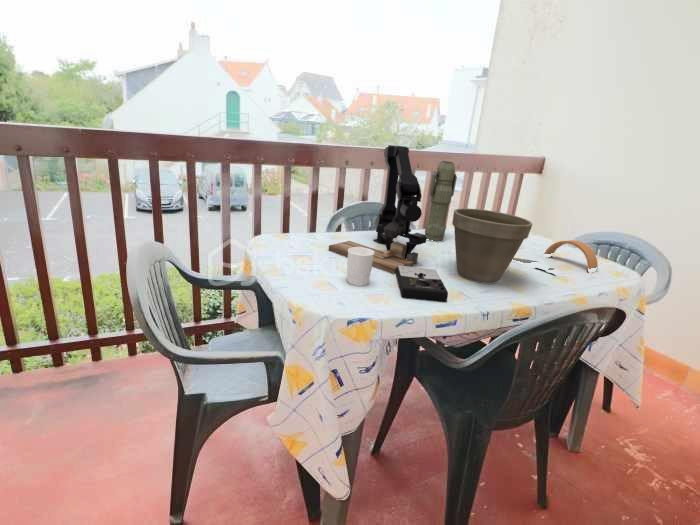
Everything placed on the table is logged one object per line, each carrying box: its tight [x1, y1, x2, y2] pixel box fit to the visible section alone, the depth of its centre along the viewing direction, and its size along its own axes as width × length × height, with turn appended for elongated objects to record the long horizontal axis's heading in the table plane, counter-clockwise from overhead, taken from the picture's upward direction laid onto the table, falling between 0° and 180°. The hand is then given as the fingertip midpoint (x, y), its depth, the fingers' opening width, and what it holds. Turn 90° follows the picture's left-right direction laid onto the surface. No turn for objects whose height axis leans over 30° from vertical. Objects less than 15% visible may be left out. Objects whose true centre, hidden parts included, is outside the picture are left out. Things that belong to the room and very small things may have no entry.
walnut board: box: [327, 240, 419, 275], centre depth 138 cm, size 17×30×4 cm, turn 50°
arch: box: [543, 239, 598, 269], centre depth 154 cm, size 6×20×10 cm, turn 29°
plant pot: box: [451, 208, 533, 284], centre depth 128 cm, size 25×25×22 cm
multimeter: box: [395, 266, 449, 303], centre depth 115 cm, size 13×19×5 cm
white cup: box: [346, 247, 374, 287], centre depth 113 cm, size 8×8×10 cm
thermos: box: [424, 160, 458, 242], centre depth 167 cm, size 9×12×35 cm
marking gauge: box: [382, 241, 407, 259], centre depth 136 cm, size 11×5×6 cm, turn 140°
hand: (397, 255), depth 139 cm, fingers open, 7 cm apart
